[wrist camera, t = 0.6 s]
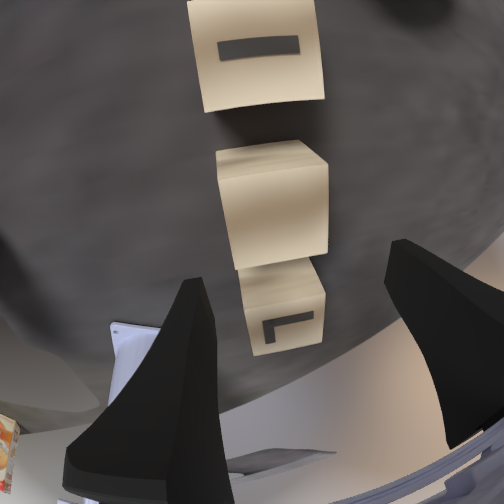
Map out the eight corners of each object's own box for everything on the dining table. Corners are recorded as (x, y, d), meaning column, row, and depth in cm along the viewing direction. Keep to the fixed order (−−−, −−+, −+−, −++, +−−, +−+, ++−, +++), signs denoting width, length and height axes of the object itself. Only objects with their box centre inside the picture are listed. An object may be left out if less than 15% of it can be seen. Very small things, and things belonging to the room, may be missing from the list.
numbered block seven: (305, 295, 24) (323, 342, 20) (245, 307, 24) (254, 357, 20) (305, 247, 21) (327, 294, 17) (236, 259, 21) (243, 310, 17)
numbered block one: (295, 91, 15) (327, 99, 11) (206, 102, 15) (204, 113, 10) (285, 13, 12) (315, -8, 8) (193, 22, 12) (186, 1, 8)
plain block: (302, 210, 19) (327, 253, 15) (228, 223, 19) (235, 269, 15) (298, 139, 17) (328, 164, 13) (215, 151, 16) (217, 180, 12)
